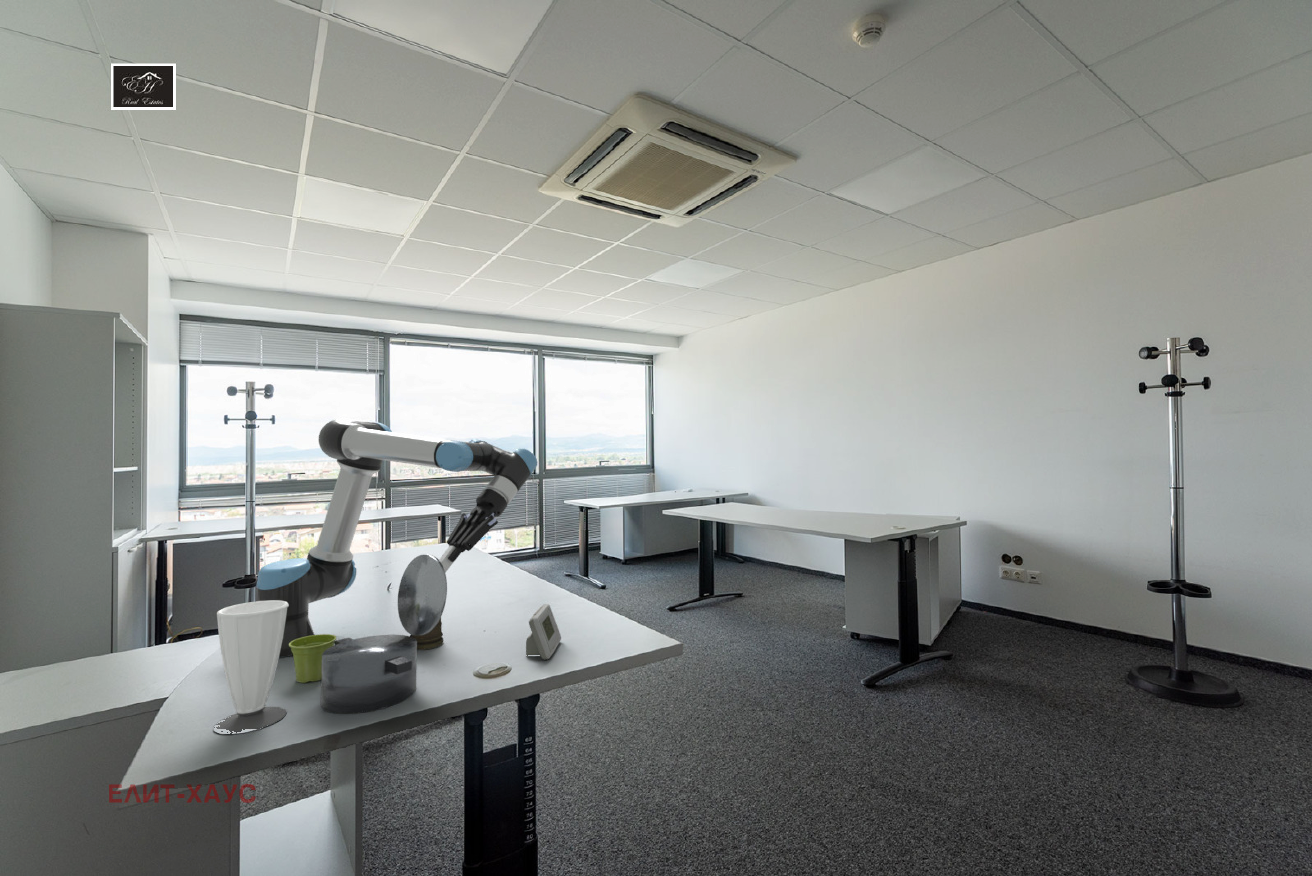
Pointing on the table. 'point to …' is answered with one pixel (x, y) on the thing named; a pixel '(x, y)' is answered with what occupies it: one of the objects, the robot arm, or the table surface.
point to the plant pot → (310, 656)
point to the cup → (251, 660)
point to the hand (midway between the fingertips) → (438, 571)
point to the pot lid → (422, 595)
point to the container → (430, 638)
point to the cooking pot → (368, 673)
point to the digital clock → (543, 633)
